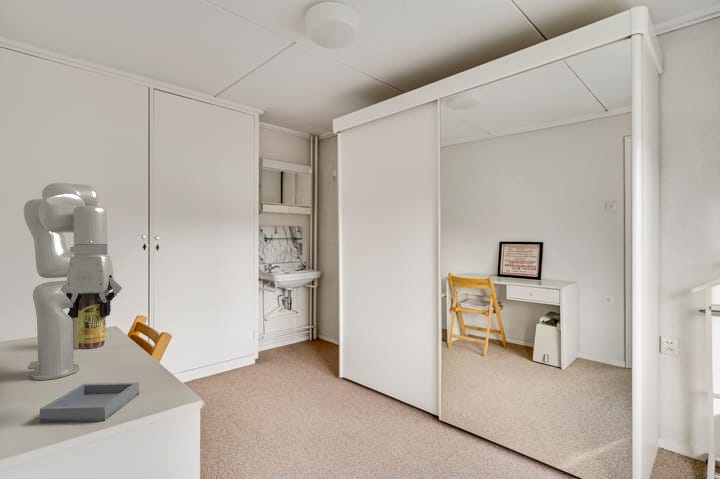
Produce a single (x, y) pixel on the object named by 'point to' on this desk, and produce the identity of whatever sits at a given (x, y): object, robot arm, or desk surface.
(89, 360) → the desk surface
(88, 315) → the sauce bottle
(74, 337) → the travel mug
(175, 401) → the desk surface
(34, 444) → the desk surface
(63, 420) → the tray
